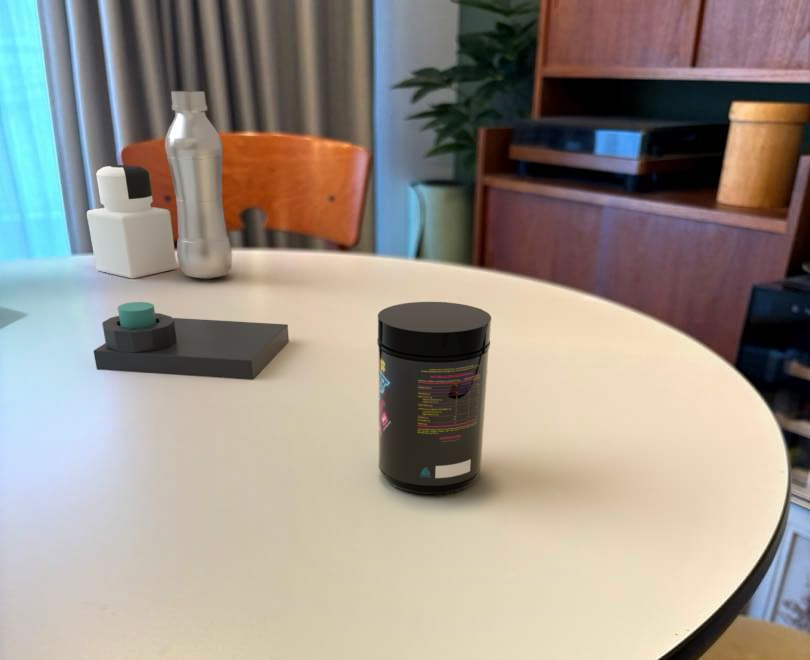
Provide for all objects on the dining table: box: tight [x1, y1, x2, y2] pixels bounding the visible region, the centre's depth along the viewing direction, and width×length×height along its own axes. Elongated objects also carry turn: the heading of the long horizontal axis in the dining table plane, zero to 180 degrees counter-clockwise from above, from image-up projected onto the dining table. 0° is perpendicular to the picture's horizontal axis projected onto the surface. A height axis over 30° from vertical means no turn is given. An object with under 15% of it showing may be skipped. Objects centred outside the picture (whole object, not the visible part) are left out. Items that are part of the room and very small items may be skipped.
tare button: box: [117, 301, 157, 328], centre depth 71 cm, size 3×3×2 cm
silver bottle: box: [164, 90, 233, 280], centre depth 96 cm, size 6×7×20 cm
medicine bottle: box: [86, 164, 177, 279], centre depth 101 cm, size 7×7×12 cm
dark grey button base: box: [93, 312, 290, 381], centre depth 74 cm, size 14×11×4 cm
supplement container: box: [376, 301, 492, 495], centre depth 51 cm, size 7×7×10 cm
